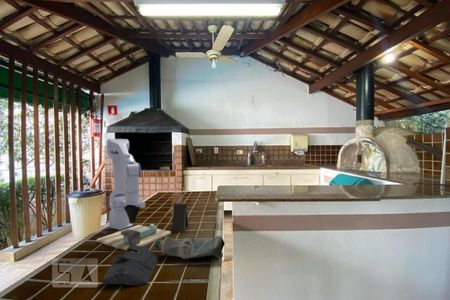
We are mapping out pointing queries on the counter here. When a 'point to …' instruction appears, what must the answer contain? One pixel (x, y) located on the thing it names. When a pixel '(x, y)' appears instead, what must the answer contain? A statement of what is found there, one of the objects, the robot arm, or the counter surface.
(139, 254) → the dark grey cloth
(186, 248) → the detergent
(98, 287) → the counter surface
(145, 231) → the link
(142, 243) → the keeper board
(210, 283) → the counter surface
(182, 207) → the phone stand
